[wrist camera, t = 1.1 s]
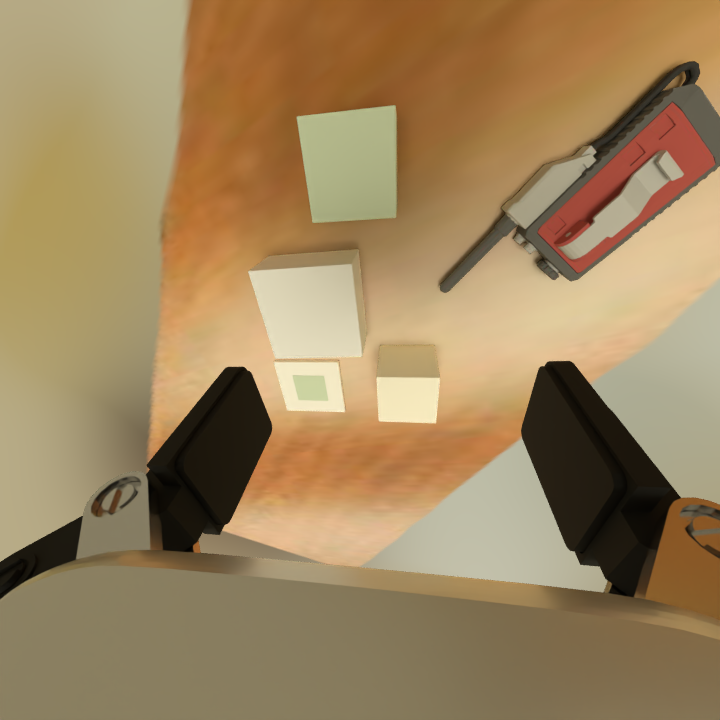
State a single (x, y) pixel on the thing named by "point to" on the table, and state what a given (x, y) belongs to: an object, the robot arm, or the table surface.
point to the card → (311, 385)
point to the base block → (312, 303)
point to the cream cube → (407, 383)
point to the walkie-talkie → (612, 182)
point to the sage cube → (350, 163)
